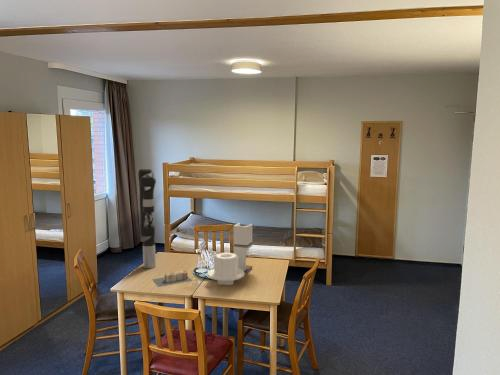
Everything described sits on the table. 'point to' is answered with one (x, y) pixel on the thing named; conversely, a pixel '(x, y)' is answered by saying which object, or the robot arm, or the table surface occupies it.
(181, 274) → the birch block
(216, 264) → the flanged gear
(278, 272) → the table surface
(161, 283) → the rubber mat
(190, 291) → the table surface
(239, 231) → the grey notched tower
